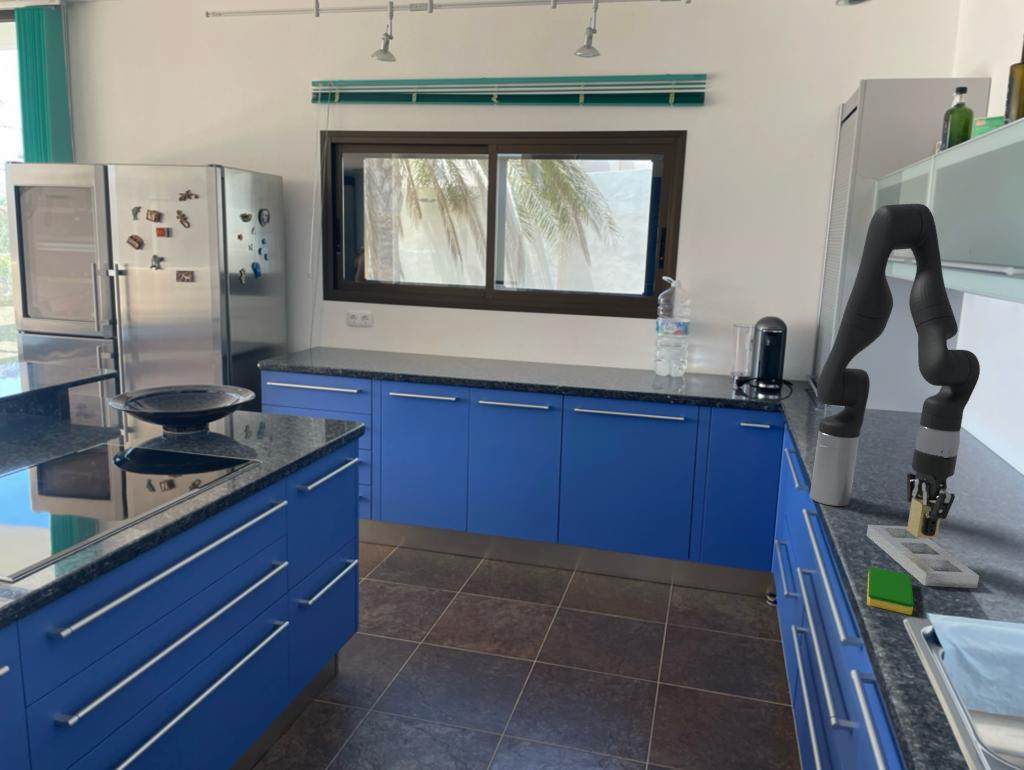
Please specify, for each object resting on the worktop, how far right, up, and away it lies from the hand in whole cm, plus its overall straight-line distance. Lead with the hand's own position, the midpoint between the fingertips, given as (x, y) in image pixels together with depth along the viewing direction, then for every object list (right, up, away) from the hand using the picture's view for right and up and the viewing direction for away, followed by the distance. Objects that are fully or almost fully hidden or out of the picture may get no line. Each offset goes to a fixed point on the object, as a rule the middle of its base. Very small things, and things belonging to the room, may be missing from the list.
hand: (922, 530), depth 154 cm
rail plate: (0, -6, +1) cm, 6 cm away
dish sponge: (-14, -9, -15) cm, 22 cm away
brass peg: (0, -1, 0) cm, 1 cm away
